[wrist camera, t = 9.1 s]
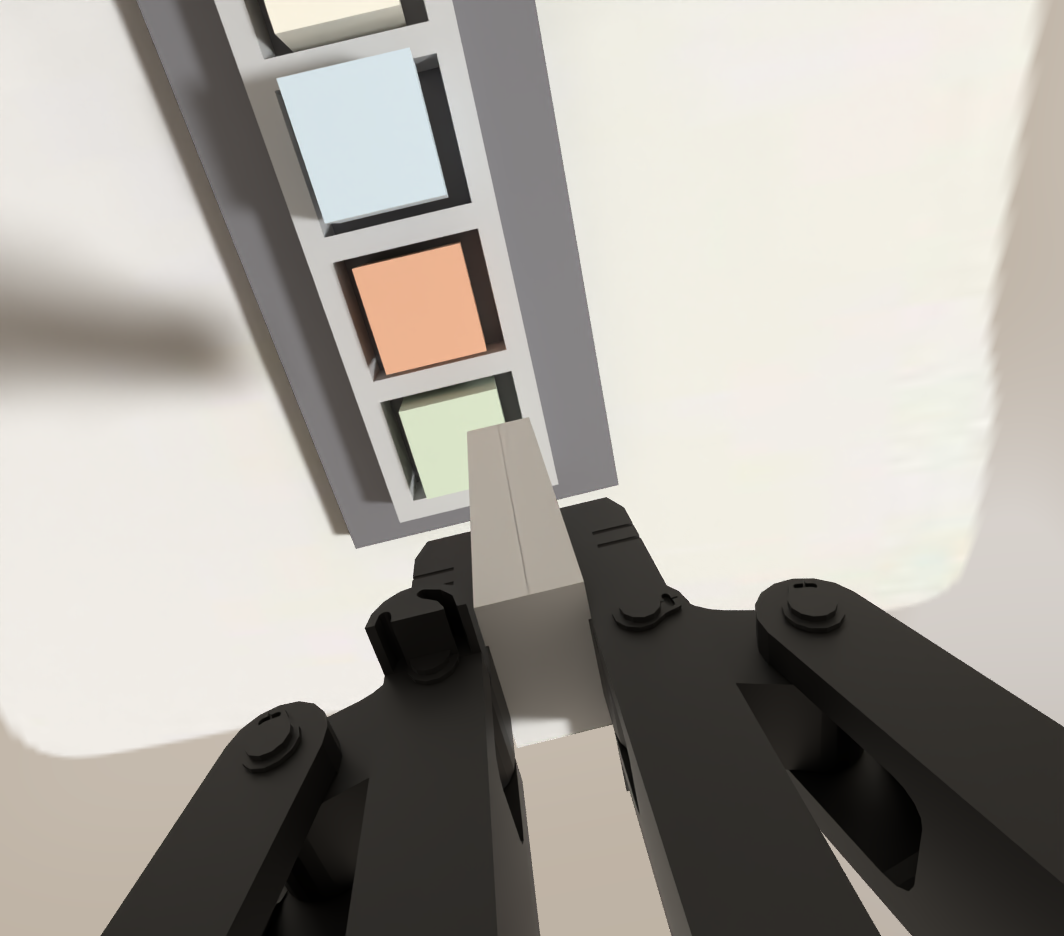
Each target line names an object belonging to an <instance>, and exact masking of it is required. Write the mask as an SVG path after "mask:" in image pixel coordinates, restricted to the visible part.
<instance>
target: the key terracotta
mask: <svg viewBox="0 0 1064 936" xmlns="http://www.w3.org/2000/svg"><path fill="white" fill-rule="evenodd" d="M352 271H353V274H354V277H355V281H356V284H357V287H358V290H359V293H360V296H361V299H362V302H363V305H364V308H365V311H366V314H367V317H368V320H369V323H370V326H371V329H372V332H373V336H374V339H375V342H376V345H377V348H378V351H379V354H380V357H381V360H382V363H383V366H384V369H385V372H386V375H389V374H393V373H397V372H401V371H405V370H409V369H414V368H418V367H422V366H426V365H430V364H434V363H439V362H443V361H447V360H451V359H455V358H459V357H464V356H468V355H472V354H476V353H480V352H484V351H487V350H486V344H485V338H484V334H483V330H482V326H481V322H480V318H479V314H478V310H477V306H476V302H475V298H474V294H473V290H472V286H471V282H470V278H469V274H468V270H467V266H466V262H465V258H464V254H463V250H462V246H461V242H460V241H459V242H455V243H450V244H446V245H442V246H438V247H434V248H429V249H425V250H421V251H417V252H413V253H408V254H404V255H400V256H396V257H392V258H387V259H383V260H379V261H375V262H371V263H366V264H362V265H360V266H358V267H355V268H353V269H352Z"/></svg>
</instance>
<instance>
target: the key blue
mask: <svg viewBox="0 0 1064 936" xmlns="http://www.w3.org/2000/svg"><path fill="white" fill-rule="evenodd" d="M276 79H277V82H278V85H279V88H280V91H281V94H282V97H283V100H284V103H285V106H286V109H287V112H288V115H289V118H290V121H291V124H292V127H293V130H294V133H295V136H296V139H297V142H298V145H299V148H300V151H301V154H302V157H303V160H304V163H305V166H306V169H307V172H308V175H309V178H310V181H311V184H312V186H313V189H314V192H315V195H316V198H317V201H318V204H319V207H320V210H321V213H322V216H323V219H324V222H325V223H343V222H347V221H351V220H356V219H360V218H364V217H368V216H373V215H377V214H381V213H385V212H389V211H394V210H398V209H402V208H406V207H410V206H415V205H419V204H423V203H427V202H432V201H436V200H440V199H444V198H448V193H447V189H446V185H445V181H444V177H443V173H442V169H441V165H440V161H439V157H438V153H437V149H436V145H435V141H434V137H433V133H432V129H431V125H430V121H429V117H428V113H427V109H426V105H425V101H424V97H423V93H422V89H421V85H420V81H419V77H418V73H417V69H416V66H415V63H414V60H413V56H412V53H411V50H410V47H409V48H404V49H400V50H396V51H392V52H387V53H383V54H379V55H374V56H370V57H366V58H362V59H357V60H353V61H349V62H345V63H340V64H336V65H332V66H328V67H323V68H319V69H315V70H310V71H306V72H302V73H298V74H293V75H289V76H285V77H281V78H276Z"/></svg>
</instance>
